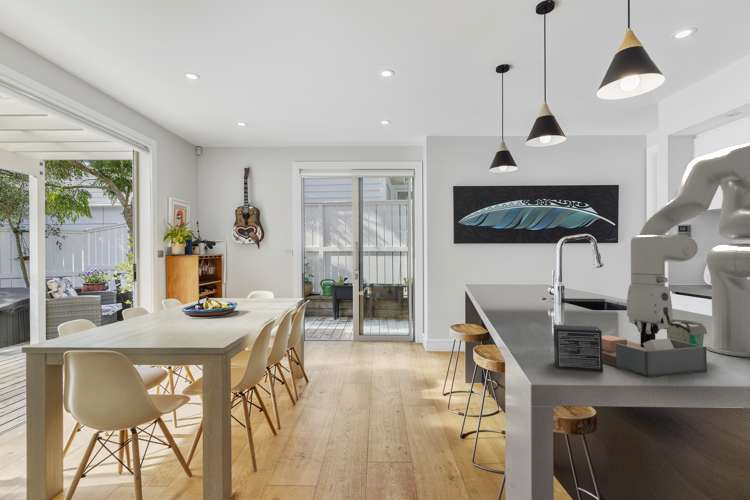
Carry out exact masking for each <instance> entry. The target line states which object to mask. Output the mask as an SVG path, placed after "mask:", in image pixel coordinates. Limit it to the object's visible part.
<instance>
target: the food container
mask: <svg viewBox="0 0 750 500" xmlns="http://www.w3.org/2000/svg"><path fill="white" fill-rule="evenodd" d="M668 326H669V328H668V329H666V339H673V340H677V341H682V342H686V343H690V344H695V345H699V346H704V338H705V337H704V336H705V335H707V334H708V331H707V327H706V326H705V324H704V323H702V322H697V321H694V320H693V321H691V320H685V319H676V318H673V320H672V322H671V323H668Z"/></svg>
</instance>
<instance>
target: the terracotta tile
mask: <svg viewBox="0 0 750 500" xmlns="http://www.w3.org/2000/svg"><path fill="white" fill-rule="evenodd" d="M627 341H628V339H626V338H623V337H619V336H615V335H610V334H609V335H607V334H606V335H602V349H603V350H606V351H610V352H614V351H616V344H617V343H619V344H623V345H626V346H627Z"/></svg>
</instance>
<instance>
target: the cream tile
mask: <svg viewBox="0 0 750 500" xmlns="http://www.w3.org/2000/svg"><path fill="white" fill-rule="evenodd" d="M643 345H644V347H645V349H646V351H656V350H667V349H674V347H673V345H672V343H671V341H670V339H667V338H661V339H660V338H659V339H656V338H655V340H650V341H647V342H645V343H643Z"/></svg>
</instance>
